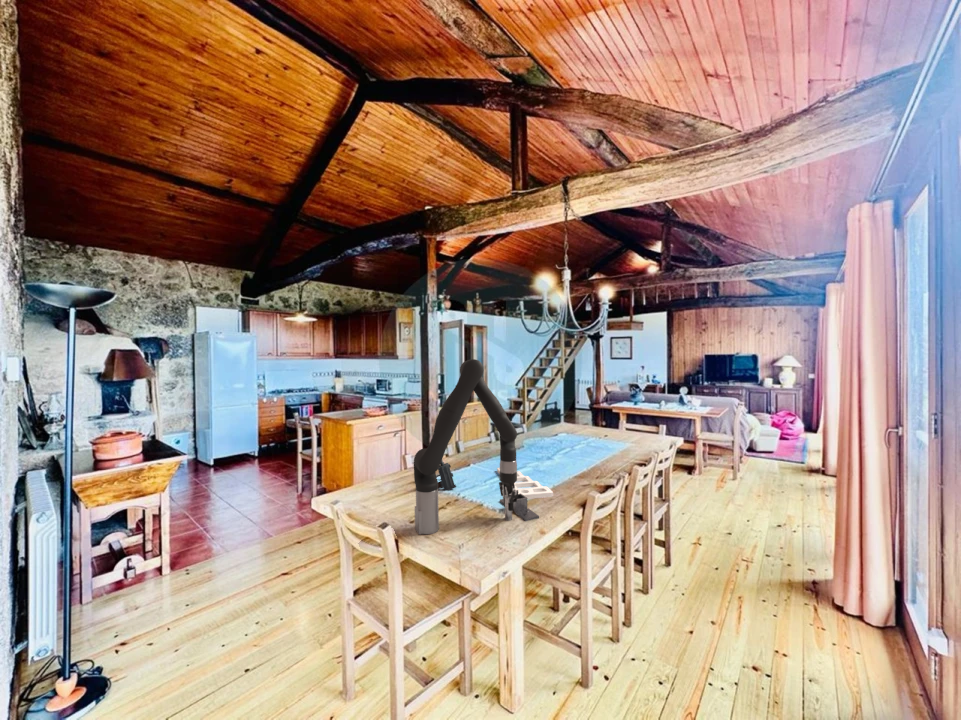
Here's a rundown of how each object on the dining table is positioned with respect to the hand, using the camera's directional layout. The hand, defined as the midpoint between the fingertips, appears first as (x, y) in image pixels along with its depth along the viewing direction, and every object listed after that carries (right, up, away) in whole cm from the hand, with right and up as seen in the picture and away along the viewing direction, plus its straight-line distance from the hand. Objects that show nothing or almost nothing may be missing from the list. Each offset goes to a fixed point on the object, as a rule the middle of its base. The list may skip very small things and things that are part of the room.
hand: (508, 508), depth 178 cm
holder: (+11, -3, +46) cm, 47 cm away
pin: (0, -5, 0) cm, 5 cm away
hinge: (+5, -4, +10) cm, 12 cm away
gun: (-33, -4, +36) cm, 49 cm away
